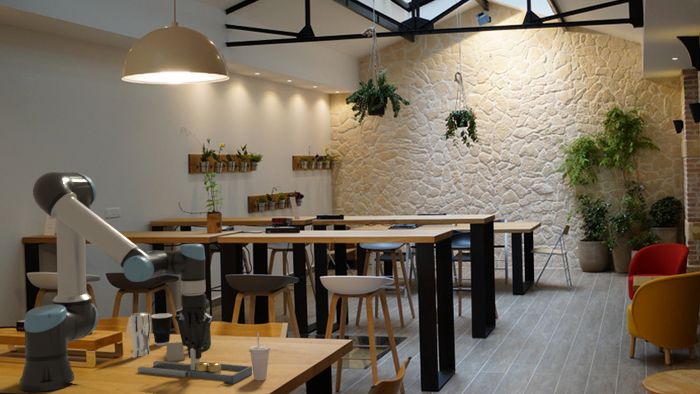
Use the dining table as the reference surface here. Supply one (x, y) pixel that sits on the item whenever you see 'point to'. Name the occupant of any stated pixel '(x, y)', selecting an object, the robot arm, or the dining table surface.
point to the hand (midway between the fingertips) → (195, 368)
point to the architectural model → (175, 351)
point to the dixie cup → (161, 328)
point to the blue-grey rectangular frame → (231, 379)
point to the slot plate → (167, 369)
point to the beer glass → (140, 333)
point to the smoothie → (259, 360)
